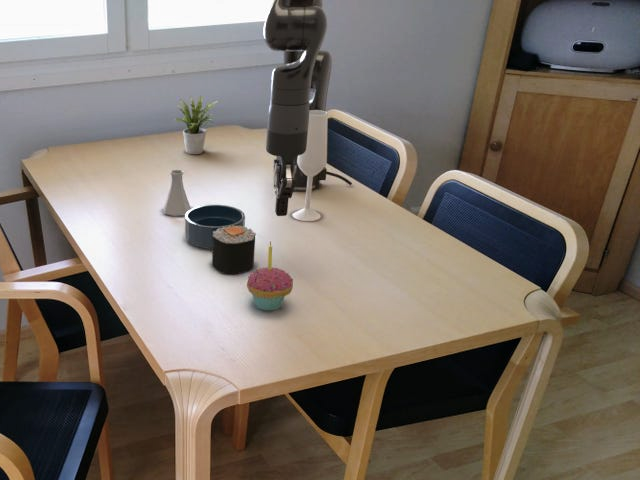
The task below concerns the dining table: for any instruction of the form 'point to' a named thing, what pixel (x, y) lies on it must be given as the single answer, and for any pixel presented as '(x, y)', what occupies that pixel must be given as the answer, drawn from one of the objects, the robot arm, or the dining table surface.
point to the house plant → (194, 126)
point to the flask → (176, 196)
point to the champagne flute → (313, 159)
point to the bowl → (210, 223)
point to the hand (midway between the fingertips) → (281, 214)
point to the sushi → (233, 249)
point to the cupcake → (269, 285)
